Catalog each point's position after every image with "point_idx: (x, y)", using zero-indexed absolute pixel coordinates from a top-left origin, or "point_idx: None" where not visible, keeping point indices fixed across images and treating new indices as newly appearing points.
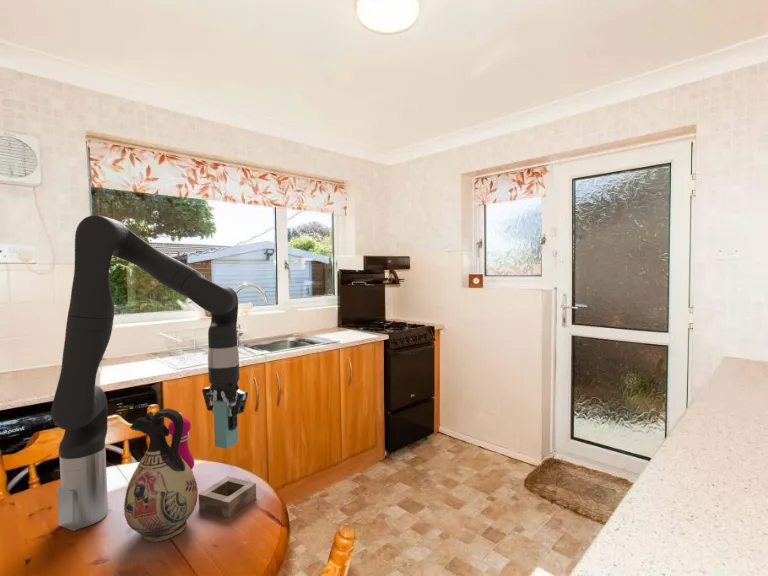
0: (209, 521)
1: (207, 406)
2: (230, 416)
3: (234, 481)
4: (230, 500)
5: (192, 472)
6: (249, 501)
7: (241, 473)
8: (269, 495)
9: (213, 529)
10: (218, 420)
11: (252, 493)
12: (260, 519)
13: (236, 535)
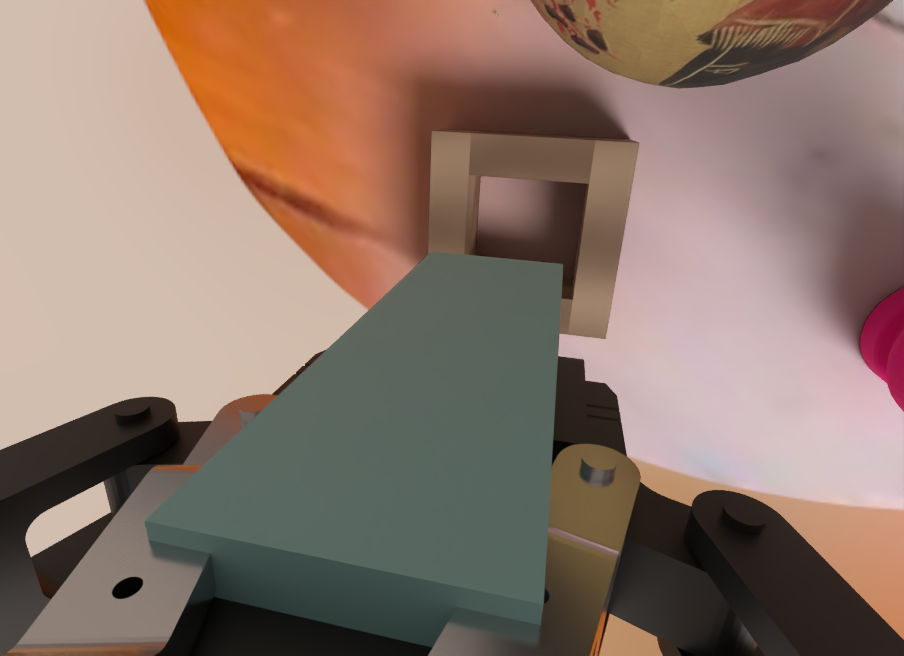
0: (513, 77)
1: (792, 555)
2: (262, 396)
3: None
4: (434, 150)
5: (882, 375)
6: None
7: (632, 445)
8: None
9: (454, 33)
10: (471, 354)
11: None
12: (326, 169)
13: (337, 39)
